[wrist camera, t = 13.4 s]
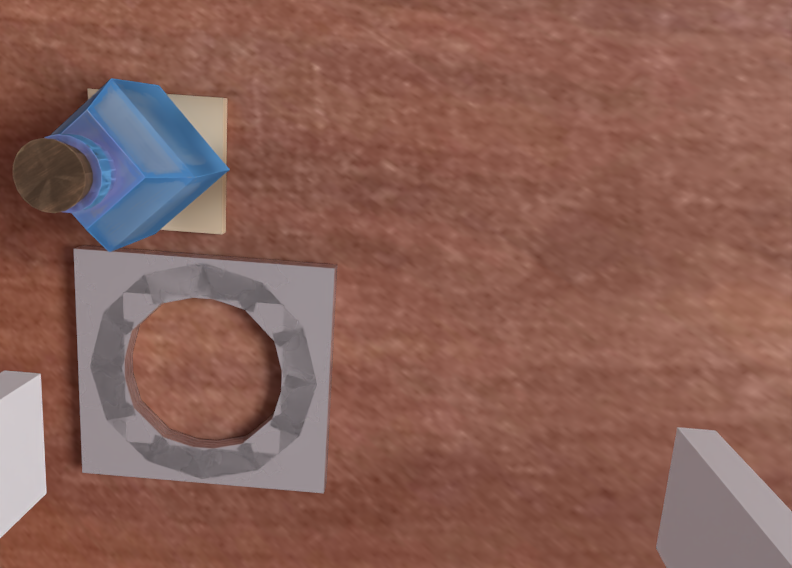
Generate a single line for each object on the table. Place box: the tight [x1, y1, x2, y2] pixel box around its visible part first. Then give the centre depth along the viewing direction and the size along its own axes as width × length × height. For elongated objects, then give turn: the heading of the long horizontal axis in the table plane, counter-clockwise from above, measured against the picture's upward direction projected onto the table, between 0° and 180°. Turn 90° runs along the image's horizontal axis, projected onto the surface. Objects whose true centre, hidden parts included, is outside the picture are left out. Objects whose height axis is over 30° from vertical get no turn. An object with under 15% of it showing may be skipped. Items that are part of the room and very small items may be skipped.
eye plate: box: [74, 245, 337, 493], centre depth 44 cm, size 15×16×1 cm
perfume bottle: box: [13, 78, 230, 252], centre depth 35 cm, size 6×6×12 cm
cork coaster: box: [88, 89, 227, 234], centre depth 41 cm, size 8×8×1 cm
